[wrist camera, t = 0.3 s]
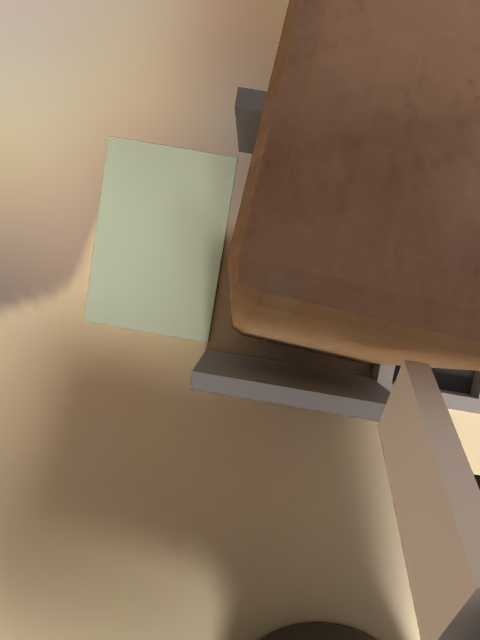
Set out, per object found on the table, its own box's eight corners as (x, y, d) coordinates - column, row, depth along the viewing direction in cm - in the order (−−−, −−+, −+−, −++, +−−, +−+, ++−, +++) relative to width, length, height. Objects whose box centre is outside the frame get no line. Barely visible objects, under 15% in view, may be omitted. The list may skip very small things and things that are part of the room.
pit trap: (478, 409, 32) (489, 415, 31) (368, 390, 32) (374, 395, 31) (528, 184, 31) (542, 179, 29) (413, 165, 31) (421, 159, 29)
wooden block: (261, 192, 31) (308, -90, 11) (400, 225, 31) (693, -1, 11) (227, 332, 31) (217, 291, 11) (371, 365, 31) (630, 387, 11)
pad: (207, 341, 32) (207, 342, 32) (84, 320, 32) (83, 321, 32) (237, 158, 31) (237, 157, 31) (110, 137, 31) (108, 136, 31)
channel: (368, 390, 32) (407, 426, 24) (204, 362, 32) (189, 388, 24) (413, 165, 31) (469, 125, 23) (241, 136, 31) (238, 87, 23)
